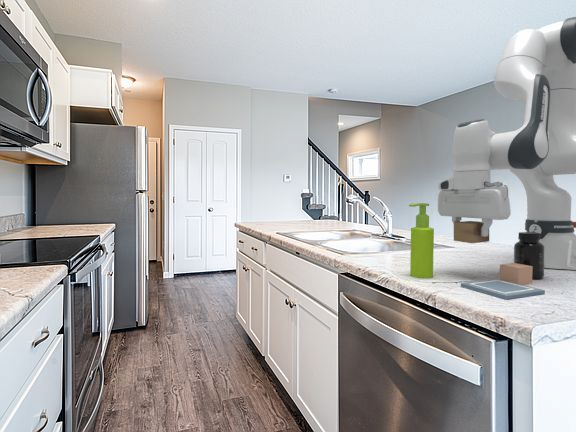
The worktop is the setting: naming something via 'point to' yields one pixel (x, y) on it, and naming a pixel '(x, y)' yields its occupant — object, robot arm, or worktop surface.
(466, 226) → the walnut block
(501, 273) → the terracotta block
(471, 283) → the board
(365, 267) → the worktop surface
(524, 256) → the supplement bottle
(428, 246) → the soap dispenser
